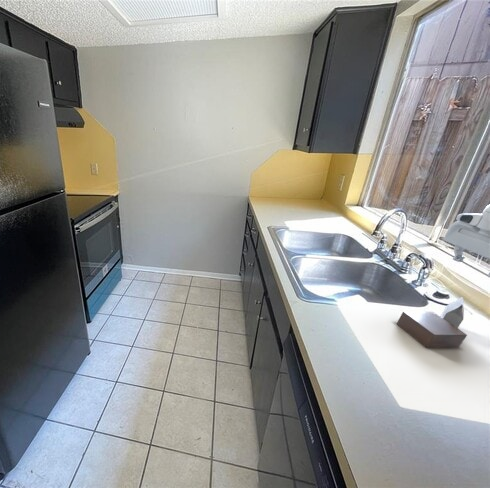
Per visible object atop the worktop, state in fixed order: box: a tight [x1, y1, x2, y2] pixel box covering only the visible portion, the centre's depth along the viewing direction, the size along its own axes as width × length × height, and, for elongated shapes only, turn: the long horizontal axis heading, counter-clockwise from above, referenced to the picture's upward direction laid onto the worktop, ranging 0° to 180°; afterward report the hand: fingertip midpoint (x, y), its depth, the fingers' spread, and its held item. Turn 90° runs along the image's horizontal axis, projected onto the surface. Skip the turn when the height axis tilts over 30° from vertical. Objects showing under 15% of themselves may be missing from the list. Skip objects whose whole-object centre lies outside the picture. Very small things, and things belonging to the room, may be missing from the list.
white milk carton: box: [439, 296, 465, 329], centre depth 81 cm, size 4×7×10 cm, turn 132°
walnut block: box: [396, 311, 468, 349], centre depth 78 cm, size 10×10×5 cm
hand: (474, 268), depth 76 cm, fingers open, 8 cm apart
